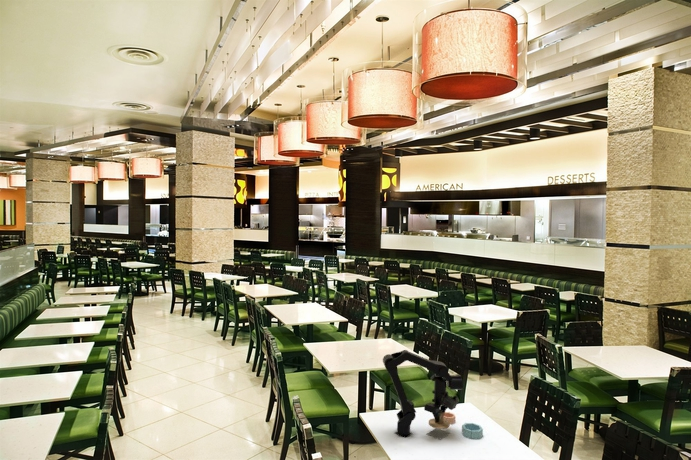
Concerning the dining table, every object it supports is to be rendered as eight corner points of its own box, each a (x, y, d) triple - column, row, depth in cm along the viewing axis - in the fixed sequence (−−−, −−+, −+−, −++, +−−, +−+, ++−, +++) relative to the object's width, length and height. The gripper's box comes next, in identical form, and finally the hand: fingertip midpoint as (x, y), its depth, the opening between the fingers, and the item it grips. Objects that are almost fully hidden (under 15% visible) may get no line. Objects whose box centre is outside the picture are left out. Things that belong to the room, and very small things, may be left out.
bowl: (476, 441, 216) (476, 433, 216) (459, 435, 222) (459, 427, 222) (484, 435, 223) (485, 427, 223) (467, 429, 229) (468, 421, 229)
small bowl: (450, 426, 232) (450, 419, 232) (438, 421, 237) (438, 414, 237) (457, 421, 237) (457, 415, 237) (445, 417, 242) (445, 411, 242)
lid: (442, 431, 215) (443, 418, 215) (424, 424, 222) (424, 412, 222) (453, 424, 223) (453, 412, 223) (435, 418, 229) (435, 406, 229)
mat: (440, 440, 216) (440, 439, 216) (425, 435, 221) (425, 434, 221) (450, 433, 224) (451, 433, 224) (436, 428, 229) (436, 427, 229)
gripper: (445, 399, 210) (444, 433, 210) (464, 388, 224) (463, 420, 224) (424, 392, 217) (423, 425, 218) (444, 382, 231) (443, 413, 231)
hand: (439, 421), depth 222 cm, fingers closed on lid, 3 cm apart
